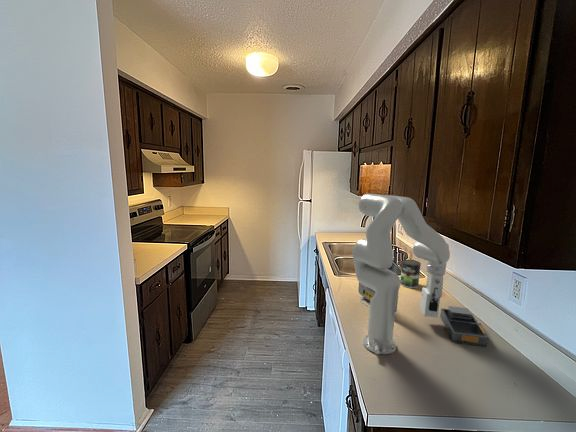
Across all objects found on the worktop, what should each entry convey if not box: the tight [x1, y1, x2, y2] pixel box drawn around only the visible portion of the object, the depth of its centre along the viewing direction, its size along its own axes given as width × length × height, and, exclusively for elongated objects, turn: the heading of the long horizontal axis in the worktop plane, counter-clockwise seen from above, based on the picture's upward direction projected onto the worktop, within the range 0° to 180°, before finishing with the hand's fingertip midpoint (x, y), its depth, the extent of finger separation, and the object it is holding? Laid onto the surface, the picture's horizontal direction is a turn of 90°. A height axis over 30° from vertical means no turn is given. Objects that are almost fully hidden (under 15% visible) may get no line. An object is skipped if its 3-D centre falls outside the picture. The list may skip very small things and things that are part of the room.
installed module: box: [447, 305, 473, 322], centre depth 136 cm, size 6×8×6 cm
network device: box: [357, 281, 400, 313], centre depth 151 cm, size 26×9×20 cm, turn 22°
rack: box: [439, 308, 489, 348], centre depth 131 cm, size 22×13×4 cm, turn 165°
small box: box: [419, 287, 441, 319], centre depth 135 cm, size 8×6×10 cm
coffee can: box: [400, 259, 422, 289], centre depth 179 cm, size 10×10×14 cm
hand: (430, 306), depth 135 cm, fingers closed on small box, 8 cm apart
